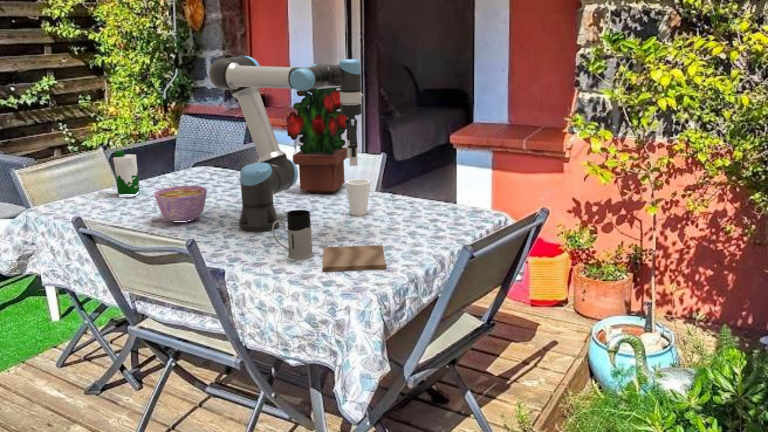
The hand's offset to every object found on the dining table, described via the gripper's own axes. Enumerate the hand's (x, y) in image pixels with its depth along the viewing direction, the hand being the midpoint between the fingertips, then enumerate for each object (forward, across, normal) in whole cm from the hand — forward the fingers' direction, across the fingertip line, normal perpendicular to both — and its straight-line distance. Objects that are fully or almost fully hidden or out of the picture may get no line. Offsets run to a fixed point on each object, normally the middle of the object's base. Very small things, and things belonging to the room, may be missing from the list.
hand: (352, 161), depth 284 cm
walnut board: (+25, -37, +3) cm, 45 cm away
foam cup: (+25, +19, -3) cm, 32 cm away
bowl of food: (+26, +22, +66) cm, 74 cm away
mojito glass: (+27, +67, +95) cm, 119 cm away
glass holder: (+25, -31, +22) cm, 46 cm away
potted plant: (+26, +59, +9) cm, 65 cm away
